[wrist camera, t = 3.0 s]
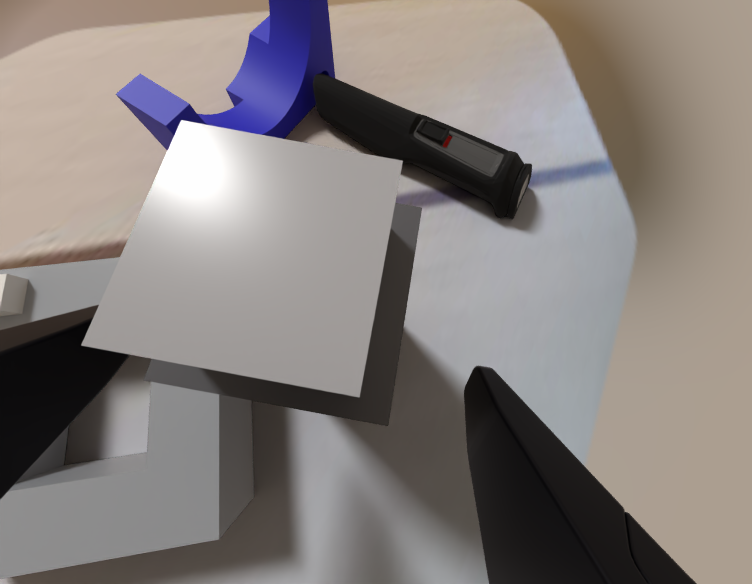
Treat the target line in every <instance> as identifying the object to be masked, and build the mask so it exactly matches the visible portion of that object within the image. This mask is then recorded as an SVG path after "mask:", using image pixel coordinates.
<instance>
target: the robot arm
mask: <svg viewBox="0 0 752 584" xmlns="http://www.w3.org/2000/svg"><path fill="white" fill-rule="evenodd" d="M98 306H99V305H95V306H91V307H87V308H83V309H80V310H76V311H72V312H68V313H64V314H60V315H56V316H52V317H48V318H45V319H41V320H37V321H33V322H29V323H25V324H21V325H17V326H13V327H10V328H6V329H2V330H0V500H1V498H2V497H3V496H4V495H5V494H6V493H7V492H8V491H9V490H10V489H11V488H12V487H13V485H14V484H15V483H16V482H17V481H18V480H19V479H20V478H21V477H22V476H23V475H24V474H25V473H26V471H27V470H28V469H29V468H30V467H31V466H32V465H33V464H34V463H35V462H36V461H37V460H38V459H39V457H40V456H41V455H42V454H43V453H44V452H45V451H46V450H47V449H48V448H49V447H50V446H51V444H52V443H53V442H54V441H55V440H56V439H57V438H58V437H59V436H60V435H61V434H62V433H63V432H64V430H65V429H66V428H67V427H68V426H69V425H70V424H71V423H72V422H73V421H74V420H75V419H76V418H77V416H78V415H79V414H80V413H81V412H82V411H83V410H84V409H85V408H86V407H87V406H88V405H89V403H90V402H91V401H92V400H93V399H94V398H95V397H96V396H97V395H98V394H99V393H100V392H101V390H102V389H103V388H104V387H105V386H106V385H107V383H108V382H109V381H110V380H111V379H112V377H113V376H114V375H115V373H116V372H117V371H118V370H119V368H120V367H121V366H122V364H123V363H124V362H125V361H126V359H127V358H128V357H129V355H130V354H124V353H119V352H114V351H108V350H103V349H98V348H92V347H87V346H82V342H83V340H84V338H85V336H86V333H87V331H88V329H89V327H90V324H91V322H92V320H93V318H94V315H95V313H96V311H97V309H98ZM464 403H465V420H466V437H467V451H468V459H469V465H470V471H471V477H472V483H473V489H474V495H475V501H476V507H477V513H478V519H479V525H480V531H481V537H482V543H483V549H484V555H485V561H486V567H487V573H488V579H489V584H696V583H695V582H694V581H693V580H692V579H691V578H690V577H689V576H688V575H687V574H686V573H685V572H684V570H682V568H681V567H680V566H679V565H678V564H677V563H676V562H675V561H674V560H673V559H672V558H671V557H670V556H669V555H668V554H667V553H666V552H665V551H664V550H663V549H662V548H661V547H660V546H659V545H658V544H657V543H656V542H655V540H654V539H653V538H652V537H651V536H650V535H649V534H648V533H647V532H646V531H645V530H644V529H643V528H642V527H641V526H640V525H639V524H638V523H637V521H636V520H635V519H634V518H633V517H632V516H631V515H630V514H629V513H627V512H625V511H624V509H623V507H622V506H621V505H620V504H619V502H618V501H617V500H616V499H615V498H614V497H613V496H612V495H611V494H610V493H609V492H608V491H607V490H606V489H605V488H604V487H603V485H602V484H600V482H599V481H598V480H597V479H596V478H595V477H594V476H593V475H592V474H591V473H590V472H589V471H588V470H587V468H586V467H585V466H584V465H583V464H582V463H581V462H580V461H579V460H578V459H577V458H576V457H575V456H574V455H573V454H572V453H571V451H570V450H569V449H568V448H567V447H566V446H565V445H564V444H563V443H562V442H561V441H560V440H559V439H558V438H557V437H556V436H555V434H554V433H553V432H552V431H551V430H550V429H549V428H548V427H547V426H546V425H545V424H544V423H543V422H542V421H541V420H540V418H539V417H538V416H537V415H536V414H535V413H534V412H533V411H532V410H531V409H530V408H529V407H528V406H527V405H526V404H525V403H524V401H523V400H522V399H521V398H520V397H519V396H518V395H517V394H516V393H515V392H514V391H513V390H512V389H511V388H510V387H509V386H508V384H507V383H506V382H505V381H504V380H503V379H502V378H501V377H500V376H499V375H498V374H497V373H496V372H495V371H494V370H493V369H492V368H489V367H483V366H476V367H475V368H474V369H473V371H472V373H471V375H470V377H469V379H468V382H467V384H466V386H465V390H464Z"/></svg>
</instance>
